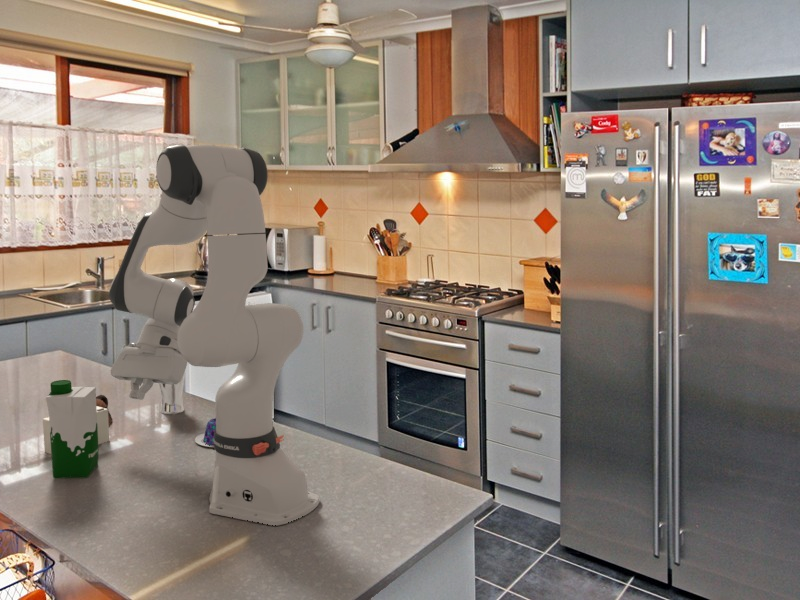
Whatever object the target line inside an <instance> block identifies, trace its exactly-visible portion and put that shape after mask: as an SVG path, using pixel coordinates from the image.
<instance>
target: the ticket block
mask: <svg viewBox="0 0 800 600" xmlns="http://www.w3.org/2000/svg"><path fill="white" fill-rule="evenodd" d="M96 409H97V428H98V444H99V445H101V443H102V444H104V442H105V443H107V441H108V442H110V426H109V425H110V424H109V422H108V410H109V408H108V409H106V408H102V407H98V406H96ZM42 428H43V429H42V432H43V442H44V443H43V446H44V453H46V454H49V455H51V440H50V424H49V416H48V417H45V418H44V417H43V418H42Z"/></svg>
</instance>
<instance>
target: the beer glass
mask: <svg viewBox="0 0 800 600" xmlns="http://www.w3.org/2000/svg"><path fill="white" fill-rule="evenodd" d="M185 372H186V371H185ZM185 372H184V375H183V377H182V379H181V381H180V382H179V383H178V384H163V383H158V386H159V390H160V394H161V405H160V406H161V408H160V413H161V414H163V415H177V414H182V413H183V412H184V411H185V408H184V407H185V406H184V404H183V391H184V386H185V375H186V374H185Z"/></svg>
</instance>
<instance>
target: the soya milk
mask: <svg viewBox="0 0 800 600" xmlns="http://www.w3.org/2000/svg"><path fill="white" fill-rule="evenodd" d="M96 397H97V388H96V387H95V386H90V387H88V386H86V387H85V386H72V381H71V380H68V379H60V380H54V381H51V383H50V392H49V394H48V395H46V397H45V400H46V405H47V410H48V417H49V424H50V440H51V454H50V456H51V465H52V478H53V479H64V478H65V479H68V478H70V479H71V478H72V479H74V478H75V479H76V478H79V479H80V478H84V479H85V478H88V477H90V475H92V473H93V471H95V469H96V468H97V467H98V465H99V445H98V428H97V409H96Z"/></svg>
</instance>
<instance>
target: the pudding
mask: <svg viewBox="0 0 800 600" xmlns="http://www.w3.org/2000/svg"><path fill="white" fill-rule="evenodd" d="M215 429H216V417H215V418H212V419H210V420H208V421H207V424H206V427H205V430H204V432H203V433H201V434H199V435H197V436H196V437H195V439H194V442H195V443H196V444H197V445H200V446H203V447H207V448H208V447H209V448H214V431H215ZM203 438H204V439H203ZM202 439H203V443H202V442H201V440H202ZM204 442H206V443H204ZM205 444H206V445H205ZM209 445H210V446H209Z"/></svg>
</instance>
